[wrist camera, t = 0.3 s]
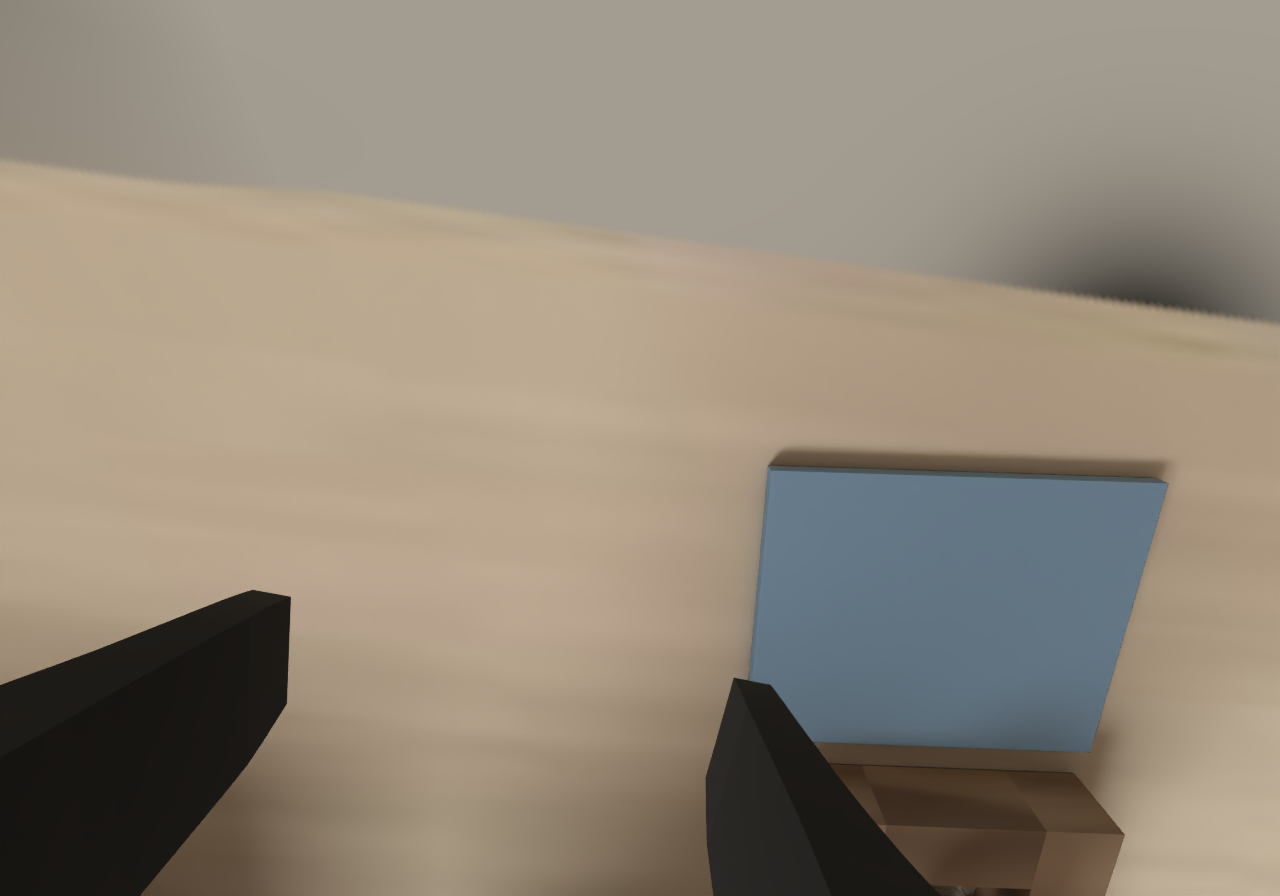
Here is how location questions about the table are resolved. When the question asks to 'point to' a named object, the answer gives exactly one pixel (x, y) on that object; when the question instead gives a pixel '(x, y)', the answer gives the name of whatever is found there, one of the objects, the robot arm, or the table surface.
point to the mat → (948, 602)
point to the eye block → (992, 828)
